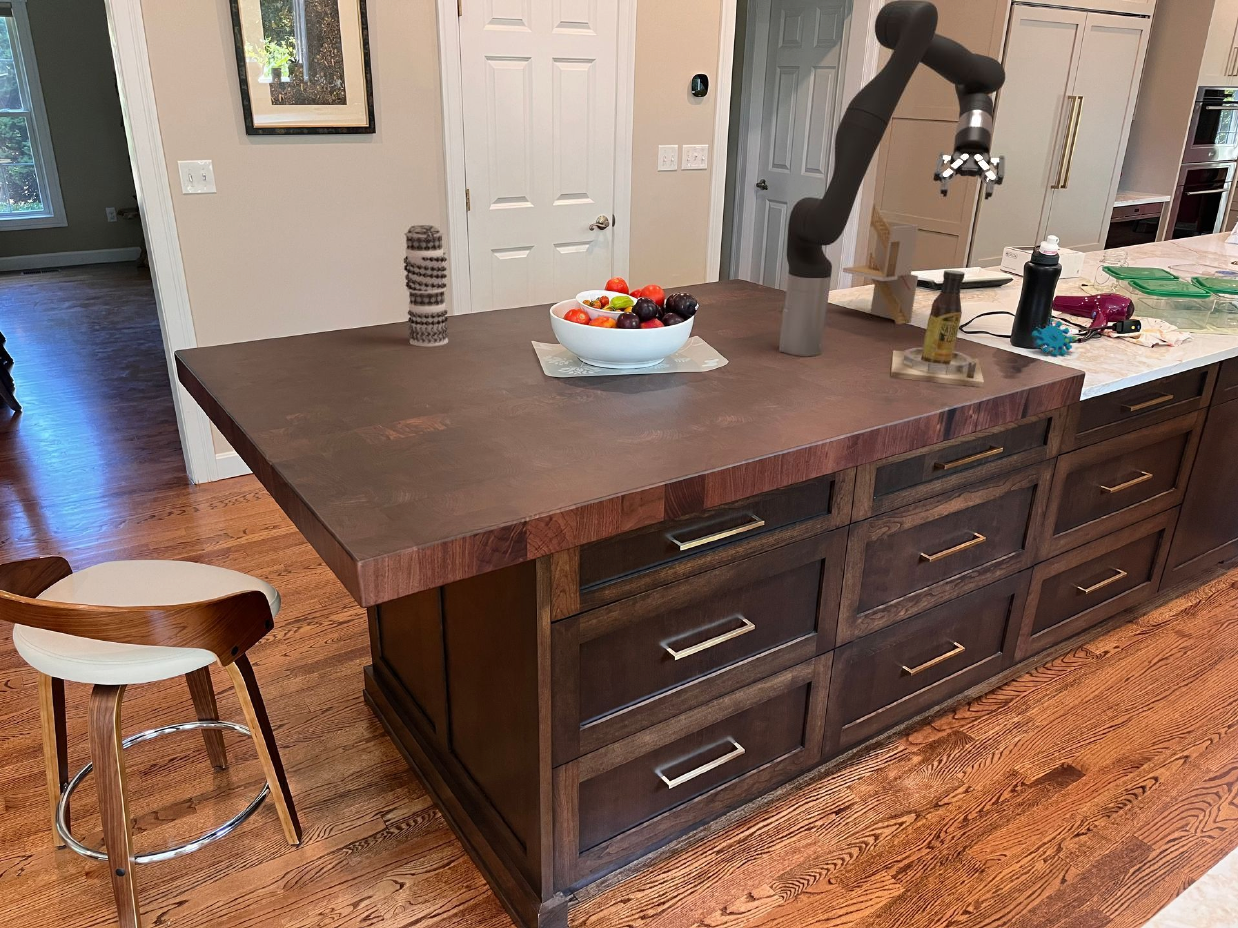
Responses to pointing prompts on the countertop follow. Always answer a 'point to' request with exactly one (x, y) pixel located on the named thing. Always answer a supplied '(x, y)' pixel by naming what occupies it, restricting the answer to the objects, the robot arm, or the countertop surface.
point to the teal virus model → (1054, 338)
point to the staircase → (891, 269)
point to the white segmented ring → (936, 368)
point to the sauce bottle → (944, 320)
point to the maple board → (907, 373)
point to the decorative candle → (426, 286)
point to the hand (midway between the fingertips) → (966, 195)
